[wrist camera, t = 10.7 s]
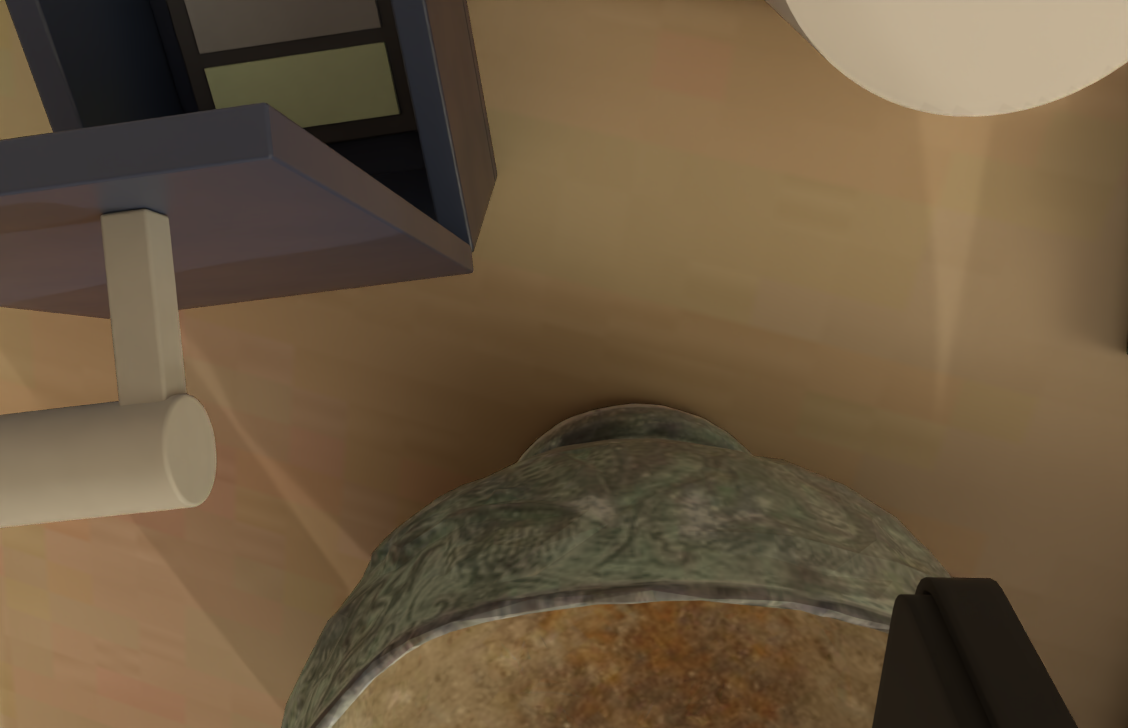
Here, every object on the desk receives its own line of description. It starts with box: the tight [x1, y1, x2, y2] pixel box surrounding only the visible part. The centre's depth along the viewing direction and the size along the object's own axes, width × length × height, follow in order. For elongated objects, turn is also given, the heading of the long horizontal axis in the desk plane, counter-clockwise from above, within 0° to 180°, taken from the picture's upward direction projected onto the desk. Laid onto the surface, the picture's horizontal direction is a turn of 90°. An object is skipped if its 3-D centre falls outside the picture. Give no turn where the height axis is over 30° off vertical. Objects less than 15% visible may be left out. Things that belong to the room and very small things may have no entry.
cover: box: [0, 102, 474, 528], centre depth 20 cm, size 13×10×5 cm
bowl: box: [281, 404, 952, 728], centre depth 31 cm, size 20×19×15 cm
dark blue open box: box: [5, 0, 497, 252], centre depth 27 cm, size 13×10×7 cm
